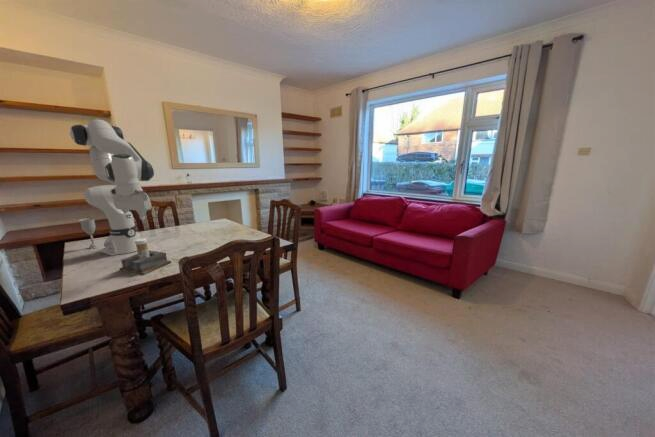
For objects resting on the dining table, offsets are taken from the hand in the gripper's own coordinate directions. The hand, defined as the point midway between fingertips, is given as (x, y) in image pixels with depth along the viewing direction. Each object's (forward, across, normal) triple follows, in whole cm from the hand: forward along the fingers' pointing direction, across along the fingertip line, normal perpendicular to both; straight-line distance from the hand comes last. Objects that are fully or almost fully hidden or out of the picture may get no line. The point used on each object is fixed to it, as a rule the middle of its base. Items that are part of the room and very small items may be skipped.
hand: (135, 218), depth 120 cm
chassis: (+25, 0, 0) cm, 25 cm away
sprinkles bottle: (+24, -1, 0) cm, 24 cm away
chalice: (+25, +60, -11) cm, 66 cm away
